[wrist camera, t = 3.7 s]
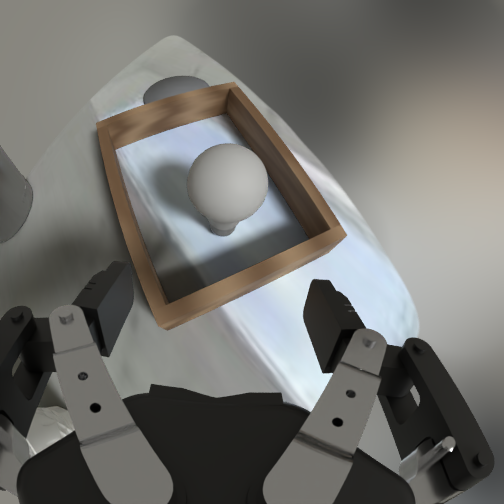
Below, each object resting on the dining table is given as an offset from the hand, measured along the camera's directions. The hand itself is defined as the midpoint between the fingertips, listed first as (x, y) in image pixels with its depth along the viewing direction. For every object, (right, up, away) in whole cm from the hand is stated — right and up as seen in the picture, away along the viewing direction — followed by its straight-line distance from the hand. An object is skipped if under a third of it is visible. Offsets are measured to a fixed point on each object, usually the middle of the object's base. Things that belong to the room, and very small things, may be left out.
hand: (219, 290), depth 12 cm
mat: (-10, +25, +22) cm, 35 cm away
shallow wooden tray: (-4, +8, +17) cm, 19 cm away
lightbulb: (-2, +4, +16) cm, 17 cm away
